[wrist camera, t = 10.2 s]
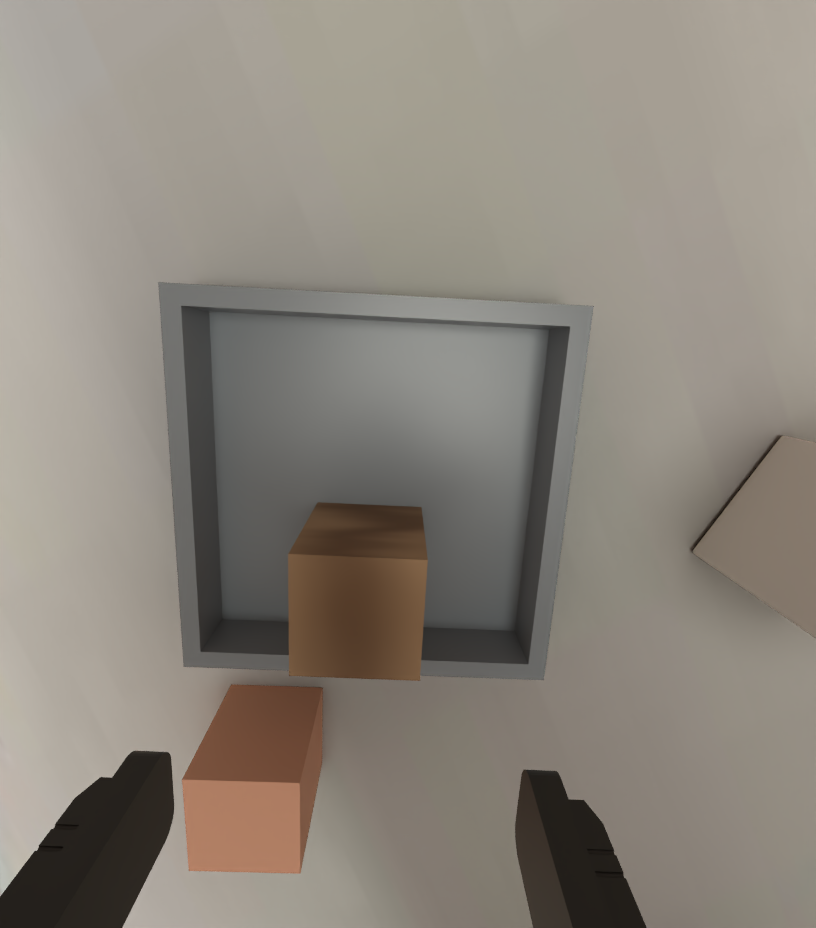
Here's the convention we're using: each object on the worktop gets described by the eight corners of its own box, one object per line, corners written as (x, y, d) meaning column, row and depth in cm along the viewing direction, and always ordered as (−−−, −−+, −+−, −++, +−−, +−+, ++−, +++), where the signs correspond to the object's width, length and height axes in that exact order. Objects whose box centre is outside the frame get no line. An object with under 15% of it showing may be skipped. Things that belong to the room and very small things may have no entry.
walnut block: (421, 507, 23) (427, 559, 17) (415, 600, 24) (419, 680, 18) (317, 502, 23) (288, 553, 17) (316, 596, 24) (289, 675, 18)
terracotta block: (322, 686, 26) (299, 783, 20) (322, 762, 27) (300, 873, 21) (231, 683, 26) (182, 779, 20) (234, 759, 27) (188, 870, 21)
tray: (563, 313, 22) (593, 306, 18) (524, 636, 25) (543, 680, 22) (197, 293, 21) (158, 282, 18) (213, 623, 25) (183, 666, 22)
